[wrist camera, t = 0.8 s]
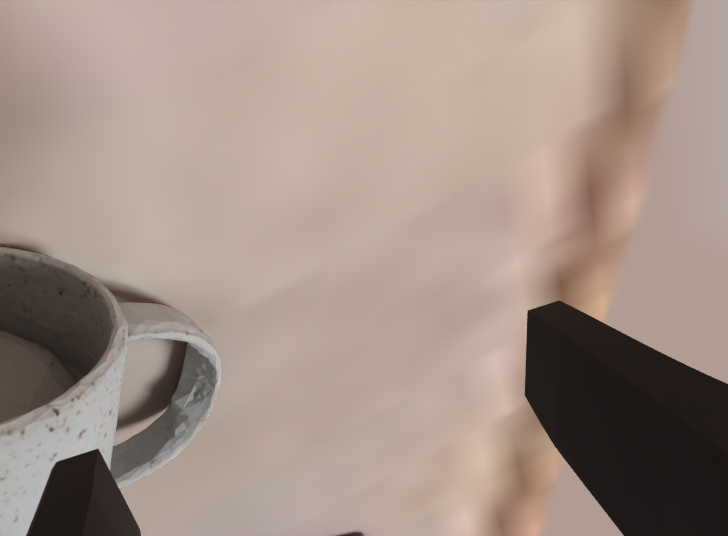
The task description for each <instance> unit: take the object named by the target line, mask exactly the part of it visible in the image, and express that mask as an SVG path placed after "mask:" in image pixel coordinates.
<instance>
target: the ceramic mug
mask: <svg viewBox="0 0 728 536" xmlns="http://www.w3.org/2000/svg"><path fill="white" fill-rule="evenodd" d="M135 339H171V340H179V341H185V342H187V343H188V344H187V351H186V355H185V360H184V364H183V368H182V372H181V376H180V380H179V383H178V387H177V390H176V391H175V393H174V395H173V396H172V398H171V405H170V406H169V407H168V409H167V410H166V411H165V412H164V414H162V415H161V416H160V417H159V418H158V419H157V420H155V421H154V422H153V423H152V424H151V425H150V426H149V427H147V428H146V429H145V430H143V431H141V432H140V433H138V434H136V435H134V436H132V437H131V438H130V439H128V440H127V441H125V442H123V443H121V444H118V445H116V446H113V444H114V439H115V432H116V426H117V419H118V411H119V402H120V393H121V386H122V381H123V375H124V369H125V364H126V357H127V346H128V342H129V341H132V340H135ZM221 377H222V360H221V355H220V354H219V352H218V350H217V348H216V346H215V343H214V342H213V341H212V340H211V339H210V338H209V337H208V336H207V335H206V334H205V333H204V332H203V331H202V330H201V329H200V328H199V327H198V325H197V324H196V323H195V322H194V321H192V320H191V319H190V318H189V317H188V316H186V315H185V314H183V313H182V312H180V311H179V310H177V309H174V308H172V307H170V306H166V305H162V304H157V303H136V302H120V303H118V301H117V300H116V298H115V297H114V295H113V294H112V293H111V292H110V291H109V290H108V289H107V288H106V287H105V286H104V285H102V284H101V283H100V282H99V281H98V280H97V279H96V278H94V277H93V276H91V275H89V274H88V273H86V272H84V271H82V270H81V269H79V268H77V267H76V266H73V265H71V264H68V263H65V262H62V261H60V260H57V259H55V258H52V257H50V256H46V255H43V254H39V253H34V252H30V251H25V250H20V249H14V248H8V247H0V536H26V534H27V532H28V530H29V527H30V525H31V522H32V520H33V517H34V515H35V512H36V509H37V507H38V504H39V502H40V499H41V496H42V494H43V491H44V488H45V486H46V483H47V480H48V478H49V475H50V472H51V470H52V468H53V467H54V465H55V464H56V462H58V461H61V460H64V459H67V458H70V457H73V456H76V455H79V454H82V453H86V452H89V451H92V450H95V449H98V448H99V450H100V452H101V454H102V456H103V458H104V460H105V462H106V464H107V466H108V468H109V470H110V472H111V474H112V476H113V478H114V480H115V482H116V484H117V486H118V488H119V489H120V488H122V487H125V486H127V485H129V484H131V483H133V482H135V481H137V480H139V479H141V478H144V477H146V476H147V475H149V474H151V473H152V472H154V471H155V470H157V469H158V468H160V467H161V466H163V465H164V464H166V463H167V462H169V461H170V460H172V459H174V458H175V457H176V456H177V455H178V454H179V453H180V452H181V451H182V450H183V449H184V448H185V447H186V445H187V444H188V443H189V442H190V441H191V440H192V439H193V438H194V437H195V435H196V434H197V433H198V431H199V430H200V429H201V427H202V426H203V425H204V423H205V421H206V419H207V418H208V416H209V414H210V412H211V410H212V408H213V406H214V403H215V401H216V398H217V395H218V392H219V388H220V384H221Z"/></svg>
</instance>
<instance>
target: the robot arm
mask: <svg viewBox="0 0 728 536" xmlns="http://www.w3.org/2000/svg"><path fill="white" fill-rule="evenodd" d="M525 396H526V398H527V400H528V402H529V403H530V405H531V407H532V409H533V411H534V412H535V414H536V416H537V418H538V419H539V421H540V423H541V424H542V426H543V428H544V429H545V431H546V433H547V434H548V436H549V438H550V439H551V441H552V442H553V444H554V446H555V447H556V448H557V450H558V451H559V452H560V454H561V455H562V456H563V458H564V459H565V460H566V461H567V463H568V464H569V465H570V466H571V468H572V469H573V470H574V472H575V473H576V475H577V476H578V477H579V478H580V480H581V481H582V482H583V484H584V485H585V486H586V487H587V489H588V490H589V491H590V493H591V494H592V495H593V496H594V498H595V499H596V500H597V501H598V503H599V504H600V505H601V507H602V508H603V509H604V511H605V512H606V513H607V514H608V516H609V517H610V518H611V520H612V521H613V522H614V523H615V525H616V526H617V527H618V529H619V530H620V531H621V532H622V534H623V535H624V536H728V384H726V383H724V382H722V381H720V380H717V379H715V378H713V377H711V376H708V375H706V374H704V373H702V372H700V371H698V370H696V369H693V368H691V367H689V366H687V365H685V364H683V363H681V362H679V361H677V360H675V359H673V358H671V357H668V356H667V355H665V354H662V353H661V352H658V351H657V350H654V349H653V348H651V347H649V346H647V345H645V344H643V343H641V342H639V341H637V340H635V339H633V338H631V337H629V336H627V335H625V334H623V333H621V332H620V331H617V330H616V329H614V328H612V327H610V326H608V325H606V324H604V323H602V322H600V321H599V320H597V319H595V318H593V317H591V316H589V315H587V314H585V313H583V312H581V311H579V310H577V309H575V308H573V307H571V306H569V305H567V304H565V303H563V302H561V301H556V302H553V303H550V304H547V305H544V306H541V307H538V308H535V309H531V310H528V318H527V348H526V377H525ZM26 536H141V533H140V529H139V527H138V525H137V523H136V521H135V519H134V517H133V515H132V513H131V511H130V509H129V507H128V505H127V503H126V501H125V499H124V497H123V495H122V494H121V492H120V490H119V488H118V486H117V484H116V482H115V480H114V478H113V476H112V474H111V472H110V470H109V468H108V466H107V464H106V462H105V460H104V458H103V456H102V454H101V452H100V450H99V448H98V449H95V450H92V451H89V452H86V453H82V454H79V455H76V456H73V457H70V458H67V459H64V460H61V461H58V462H56V464H55V465H54V467H53V468H52V470H51V472H50V475H49V478H48V480H47V483H46V486H45V488H44V491H43V494H42V496H41V499H40V502H39V504H38V507H37V509H36V512H35V515H34V517H33V520H32V522H31V525H30V527H29V530H28V532H27V534H26Z"/></svg>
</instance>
